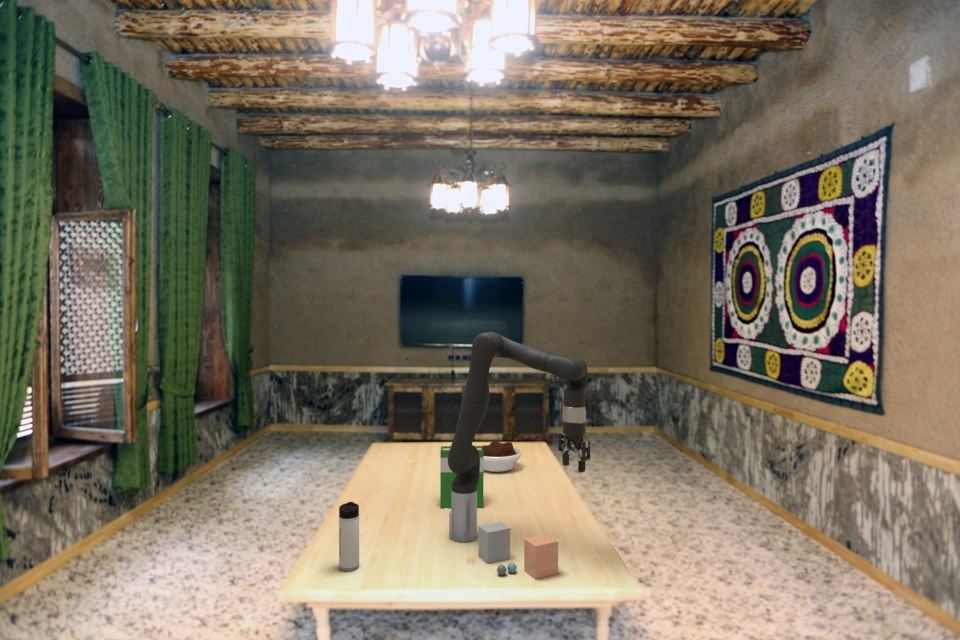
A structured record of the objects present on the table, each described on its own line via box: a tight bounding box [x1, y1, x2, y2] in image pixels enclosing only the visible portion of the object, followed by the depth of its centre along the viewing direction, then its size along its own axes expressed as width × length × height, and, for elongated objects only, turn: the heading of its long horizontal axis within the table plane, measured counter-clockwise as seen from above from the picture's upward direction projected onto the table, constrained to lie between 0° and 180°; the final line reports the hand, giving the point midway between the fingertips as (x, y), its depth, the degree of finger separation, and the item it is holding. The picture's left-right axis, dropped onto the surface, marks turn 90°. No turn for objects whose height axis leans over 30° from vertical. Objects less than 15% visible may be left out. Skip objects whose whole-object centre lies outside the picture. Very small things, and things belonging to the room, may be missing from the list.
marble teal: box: [506, 562, 518, 574], centre depth 187 cm, size 3×3×3 cm
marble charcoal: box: [496, 564, 508, 576], centre depth 185 cm, size 3×3×3 cm
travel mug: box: [338, 501, 360, 572], centre depth 190 cm, size 6×7×20 cm
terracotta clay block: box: [523, 533, 559, 580], centre depth 187 cm, size 8×6×10 cm
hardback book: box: [439, 445, 485, 510], centre depth 248 cm, size 18×7×24 cm, turn 92°
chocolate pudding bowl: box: [482, 439, 522, 473], centre depth 302 cm, size 25×25×15 cm
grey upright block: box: [477, 521, 511, 565], centre depth 197 cm, size 8×6×10 cm
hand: (573, 468), depth 196 cm, fingers open, 8 cm apart
